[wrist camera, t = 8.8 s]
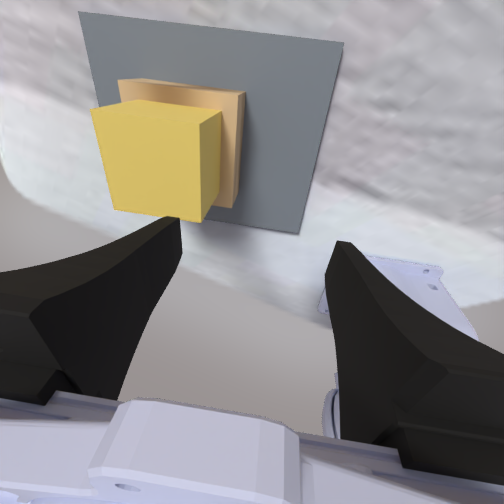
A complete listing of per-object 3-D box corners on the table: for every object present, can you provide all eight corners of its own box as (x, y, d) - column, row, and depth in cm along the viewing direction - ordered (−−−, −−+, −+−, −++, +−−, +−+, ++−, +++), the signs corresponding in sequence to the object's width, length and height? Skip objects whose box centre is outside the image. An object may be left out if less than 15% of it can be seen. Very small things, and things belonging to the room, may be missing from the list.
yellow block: (221, 110, 15) (199, 124, 11) (219, 191, 18) (201, 222, 14) (138, 99, 15) (89, 109, 11) (149, 181, 18) (114, 209, 14)
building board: (342, 43, 15) (344, 42, 15) (297, 229, 23) (298, 233, 22) (84, 13, 16) (78, 11, 15) (124, 204, 24) (121, 206, 23)
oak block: (245, 91, 17) (238, 95, 14) (238, 192, 21) (231, 208, 18) (142, 78, 17) (117, 79, 15) (155, 180, 21) (137, 194, 19)
